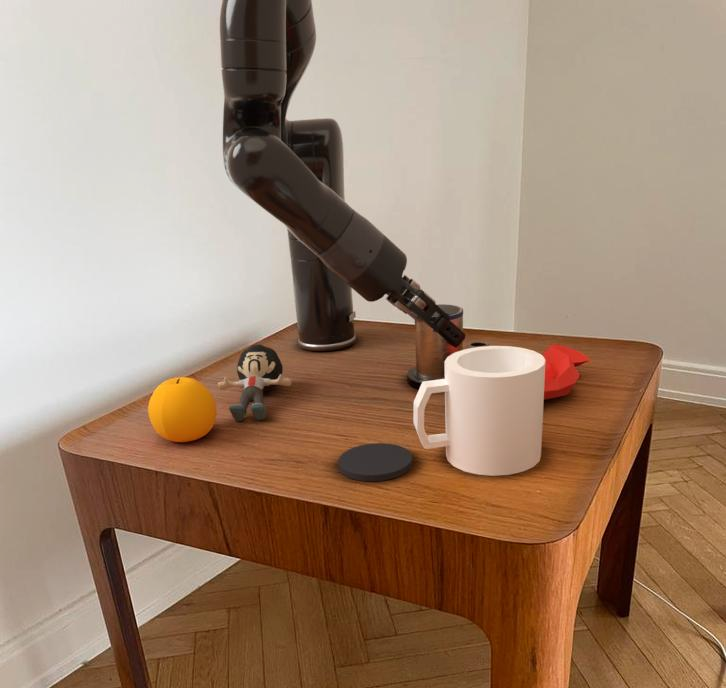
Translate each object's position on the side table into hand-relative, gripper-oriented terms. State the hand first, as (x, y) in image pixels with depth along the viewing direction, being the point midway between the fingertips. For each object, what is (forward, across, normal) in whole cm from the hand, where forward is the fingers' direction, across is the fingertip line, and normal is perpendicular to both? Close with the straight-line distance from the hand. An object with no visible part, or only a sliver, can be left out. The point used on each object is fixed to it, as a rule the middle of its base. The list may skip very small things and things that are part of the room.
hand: (450, 334), depth 101 cm
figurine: (-14, +3, +23) cm, 28 cm away
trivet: (-8, -22, +17) cm, 29 cm away
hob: (+3, 0, +6) cm, 7 cm away
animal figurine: (+11, -9, -2) cm, 14 cm away
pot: (+2, 0, +5) cm, 5 cm away
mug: (0, -24, +9) cm, 26 cm away
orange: (-21, -5, +30) cm, 38 cm away
